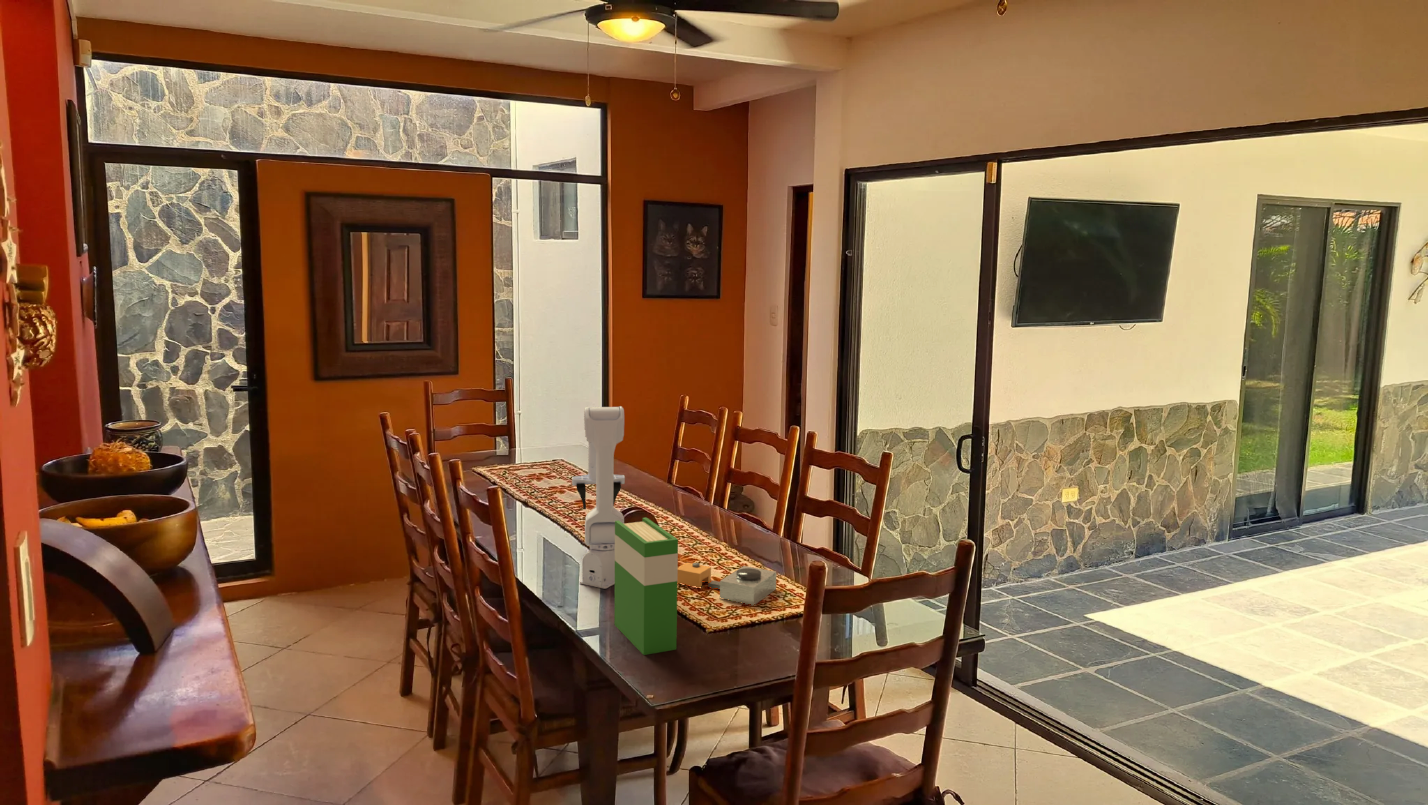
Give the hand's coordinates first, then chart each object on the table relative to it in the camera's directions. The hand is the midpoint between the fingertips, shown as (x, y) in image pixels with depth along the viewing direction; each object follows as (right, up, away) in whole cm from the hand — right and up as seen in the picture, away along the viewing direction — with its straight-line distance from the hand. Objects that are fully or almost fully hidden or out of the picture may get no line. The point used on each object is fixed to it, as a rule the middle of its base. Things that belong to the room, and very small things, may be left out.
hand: (598, 507), depth 273 cm
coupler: (+38, -17, -35) cm, 55 cm away
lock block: (+27, -16, -29) cm, 43 cm away
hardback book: (+18, -21, -63) cm, 69 cm away
